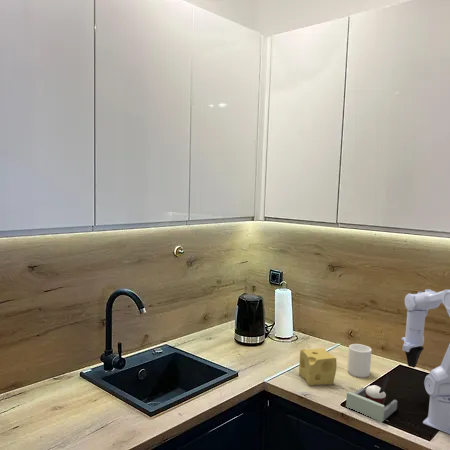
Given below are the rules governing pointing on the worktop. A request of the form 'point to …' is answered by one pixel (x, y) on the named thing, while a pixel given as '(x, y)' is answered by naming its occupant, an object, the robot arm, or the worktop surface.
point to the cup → (359, 360)
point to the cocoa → (377, 392)
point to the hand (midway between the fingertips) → (411, 366)
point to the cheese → (317, 366)
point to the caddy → (369, 406)
